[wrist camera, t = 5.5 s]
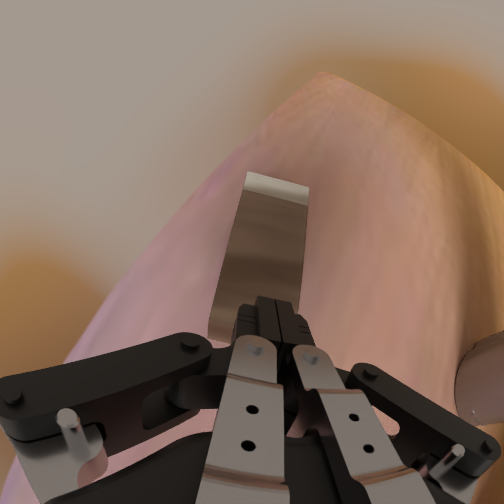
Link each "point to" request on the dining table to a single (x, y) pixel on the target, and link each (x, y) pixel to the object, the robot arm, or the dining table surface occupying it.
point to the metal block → (261, 251)
